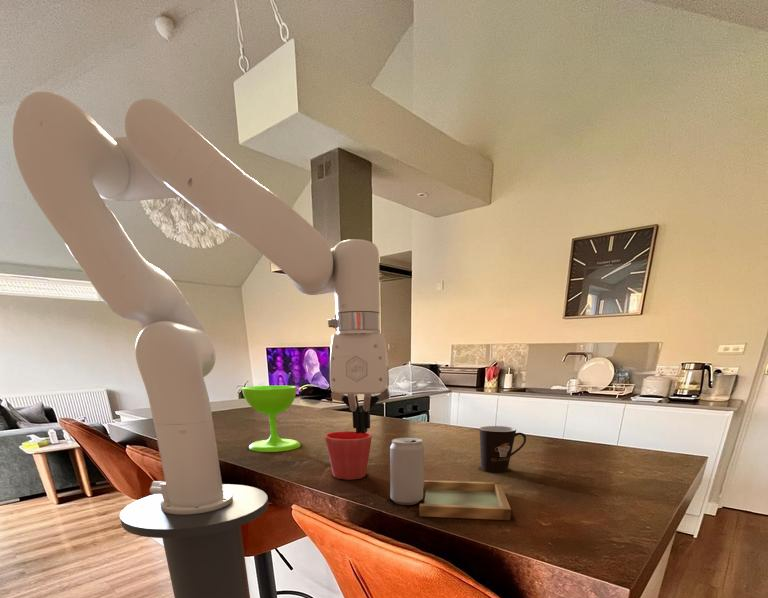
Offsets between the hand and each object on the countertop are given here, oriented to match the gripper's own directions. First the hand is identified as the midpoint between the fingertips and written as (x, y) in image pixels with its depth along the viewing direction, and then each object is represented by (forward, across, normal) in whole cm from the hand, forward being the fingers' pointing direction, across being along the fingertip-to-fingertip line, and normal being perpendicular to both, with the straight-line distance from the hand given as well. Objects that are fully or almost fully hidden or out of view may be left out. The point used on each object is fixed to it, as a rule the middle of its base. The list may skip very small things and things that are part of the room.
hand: (361, 432), depth 79 cm
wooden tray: (+13, +19, 0) cm, 23 cm away
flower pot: (+13, -7, +17) cm, 23 cm away
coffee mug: (+14, +30, +27) cm, 42 cm away
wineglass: (+13, -38, +48) cm, 62 cm away
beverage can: (+13, +8, 0) cm, 16 cm away
